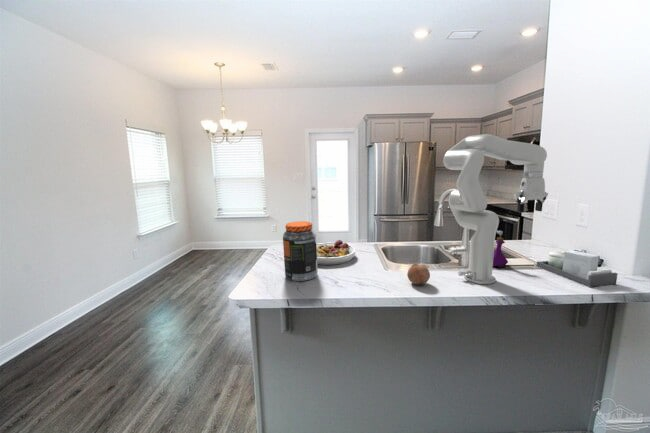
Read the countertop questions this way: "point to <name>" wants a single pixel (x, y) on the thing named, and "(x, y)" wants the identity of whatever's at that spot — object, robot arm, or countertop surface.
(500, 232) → the perfume bottle
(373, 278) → the countertop surface
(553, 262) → the cream jar
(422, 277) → the onion
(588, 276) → the pusher
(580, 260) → the skincare box
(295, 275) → the supplement tub
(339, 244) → the bowl
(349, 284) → the countertop surface
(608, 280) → the grey shallow rectangular tray
